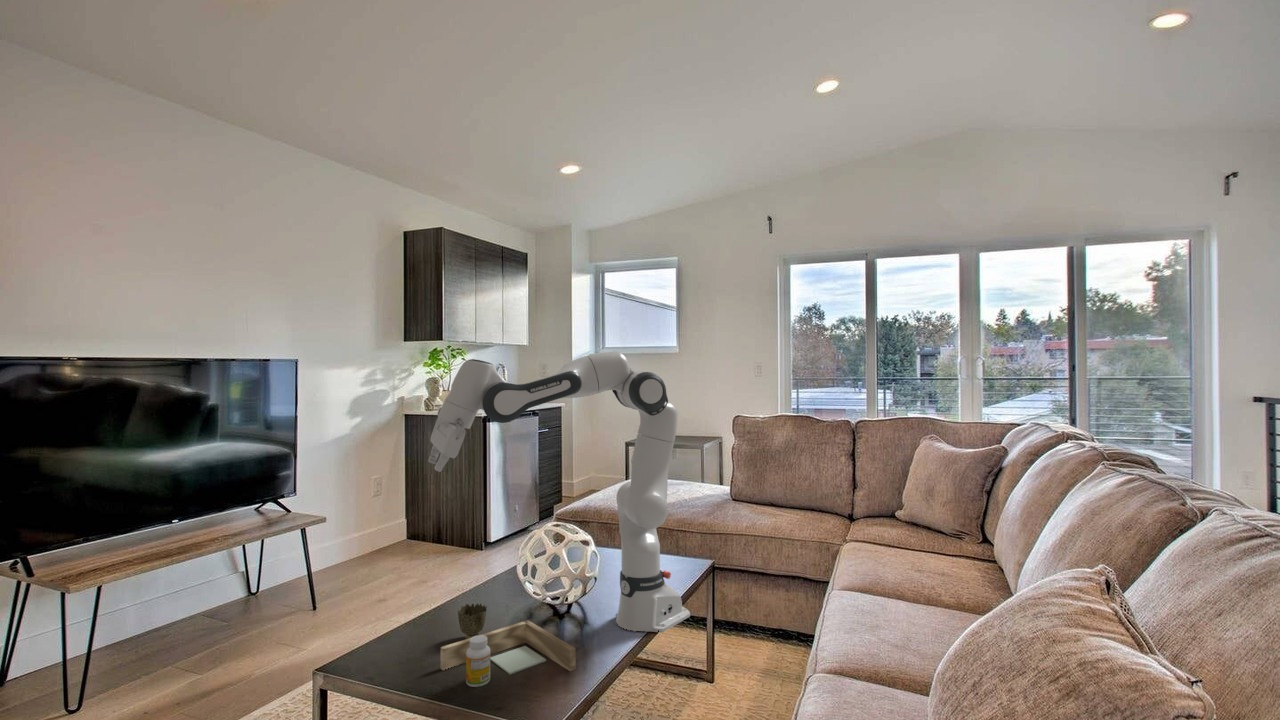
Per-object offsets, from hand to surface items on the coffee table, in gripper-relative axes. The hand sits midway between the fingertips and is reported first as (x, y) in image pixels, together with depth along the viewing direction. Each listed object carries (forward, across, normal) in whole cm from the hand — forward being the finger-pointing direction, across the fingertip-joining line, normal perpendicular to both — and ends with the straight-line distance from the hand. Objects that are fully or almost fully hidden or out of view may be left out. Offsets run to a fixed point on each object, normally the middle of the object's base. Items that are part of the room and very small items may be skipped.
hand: (434, 466), depth 151 cm
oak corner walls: (+36, -23, -31) cm, 53 cm away
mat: (+35, -19, -34) cm, 52 cm away
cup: (+40, -1, -28) cm, 48 cm away
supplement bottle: (+39, -24, -24) cm, 52 cm away
